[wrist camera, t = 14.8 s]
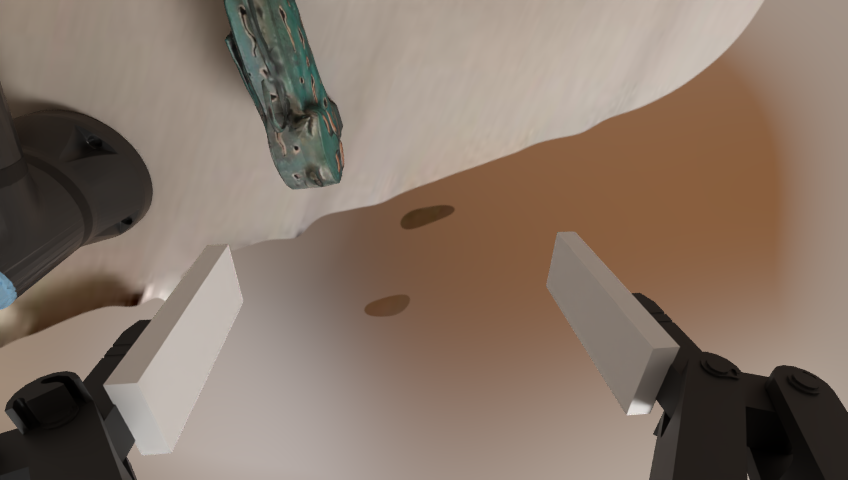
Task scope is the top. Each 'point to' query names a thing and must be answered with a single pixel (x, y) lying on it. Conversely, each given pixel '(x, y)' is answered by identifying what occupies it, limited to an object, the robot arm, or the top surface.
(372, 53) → the top surface
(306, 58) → the teal animal figurine
